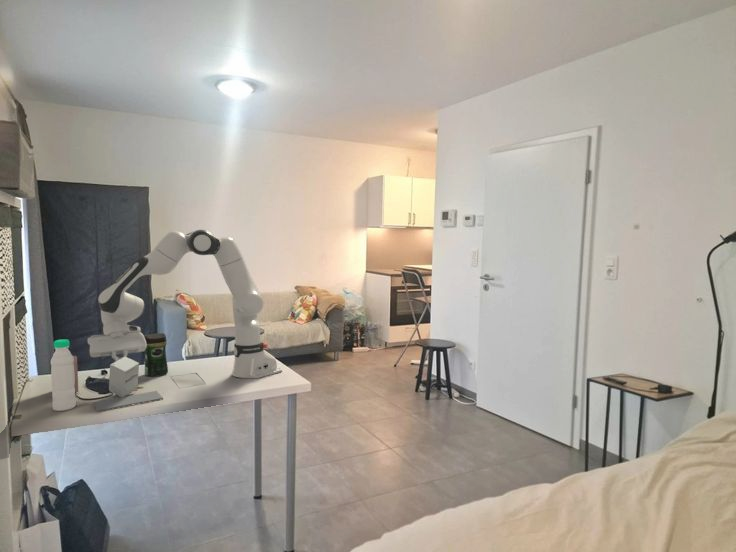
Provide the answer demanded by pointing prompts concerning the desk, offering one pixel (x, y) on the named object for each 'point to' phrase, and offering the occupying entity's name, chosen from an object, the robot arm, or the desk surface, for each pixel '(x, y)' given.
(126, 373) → the supplement box
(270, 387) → the desk surface
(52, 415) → the desk surface
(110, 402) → the mat
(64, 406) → the water bottle
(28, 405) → the desk surface
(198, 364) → the desk surface
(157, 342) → the coffee jar
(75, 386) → the greeting card
